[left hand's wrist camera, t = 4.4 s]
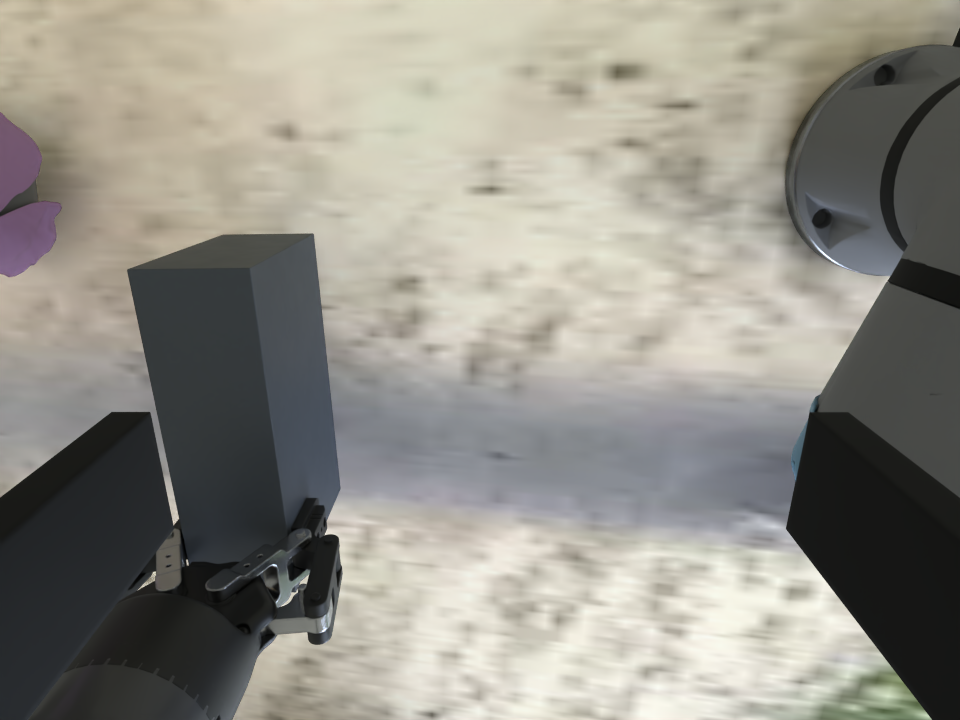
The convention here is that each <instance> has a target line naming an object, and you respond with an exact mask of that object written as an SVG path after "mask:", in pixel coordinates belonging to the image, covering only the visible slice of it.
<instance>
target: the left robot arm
mask: <svg viewBox="0 0 960 720" xmlns="http://www.w3.org/2000/svg"><path fill="white" fill-rule="evenodd" d="M785 187H786V199H787V205H788V209H789V213H790V216H791V218H792V221H793V223H794V225H795V227H796V229H797V231H798V233H799V234H800V236H801V237H802V239H803V240H804V241H805V242H806V244H807V245H808V246H809V247H810V248H811V249H812V250H813V251H814V252H816V253H817V254H818V255H820V256H821V257H823V258H824V259H826V260H828V261H829V262H831V263H834V264H836V265H838V266H841V267H843V268H846V269H849V270H852V271H855V272H858V273H863V274H867V275H876V276H890V278H889V280H888V282H886V284H885V286H884V287H883V289H882V291H881V293H880V294H879V296H878V298H877V299H876V301H875V303H874V304H873V306H872V308H871V310H870V311H869V313H868V315H867V316H866V318H865V320H864V321H863V323H862V325H861V327H860V328H859V330H858V332H857V333H856V335H855V337H854V338H853V340H852V342H851V344H850V345H849V347H848V349H847V350H846V352H845V354H844V355H843V357H842V359H841V361H840V362H839V364H838V366H837V367H836V369H835V371H834V372H833V374H832V376H831V378H830V379H829V381H828V383H827V384H826V386H825V388H824V390H823V391H822V393H821V394H820V395H818V396H817V397H815V399H814V401H813V403H812V404H811V408H810V413H809V418H808V421H807V423H806V425H805V427H804V428H803V430H802V432H801V434H800V436H799V438H798V440H797V442H796V444H795V446H794V449H793V452H792V458H791V465H792V469H793V473H794V475H795V487H794V492H793V497H792V502H791V507H790V512H789V516H788V521H787V526H786V530H787V531H788V532H789V533H790V535H791V536H792V537H793V539H794V540H795V541H796V543H797V544H798V545H799V547H800V548H801V549H802V550H803V552H804V553H805V554H806V556H807V557H808V558H809V560H810V561H811V562H812V563H813V565H814V566H815V567H816V569H817V570H818V571H819V573H820V574H821V575H822V577H823V578H824V579H825V580H826V582H827V583H828V584H829V586H830V587H831V588H832V590H833V591H834V592H835V593H836V595H837V596H838V597H839V599H840V600H841V601H842V603H843V604H844V605H845V607H846V608H847V609H848V610H849V612H850V613H851V614H852V616H853V617H854V618H855V620H856V621H857V622H858V623H859V625H860V626H861V627H862V629H863V630H864V631H865V633H866V634H867V635H868V637H869V638H870V639H871V640H872V642H873V643H874V644H875V646H876V647H877V648H878V650H879V651H880V652H881V654H882V655H883V656H884V657H885V659H886V660H887V661H888V663H889V664H890V665H891V667H892V668H893V669H894V670H895V672H896V673H897V674H898V676H899V677H900V678H901V680H902V681H903V682H904V684H905V685H906V686H907V687H908V689H909V690H910V691H911V693H912V694H913V695H914V697H915V698H916V699H917V700H918V702H919V703H920V704H921V706H922V707H923V708H924V710H925V711H926V712H927V714H928V715H929V716H930V717H931V719H932V720H960V28H959V31H958V34H957V36H956V39H955V41H954V44H953V46H947V45H924V46H916V47H911V48H907V49H902V50H897V51H892V52H889V53H886V54H882V55H879V56H877V57H875V58H872V59H870V60H868V61H866V62H864V63H862V64H860V65H858V66H857V67H855V68H854V69H852V70H850V71H849V72H847V73H846V74H845V75H843V76H842V77H841V78H840V79H838V80H837V81H836V82H835V83H834V84H833V85H831V86H830V87H829V88H828V89H827V90H826V91H825V92H824V94H823V95H822V96H821V97H820V98H819V99H818V100H817V102H816V103H815V104H814V105H813V107H812V108H811V110H810V111H809V113H808V114H807V116H806V117H805V119H804V121H803V122H802V124H801V126H800V128H799V130H798V132H797V134H796V137H795V139H794V142H793V144H792V147H791V150H790V154H789V158H788V163H787V169H786V180H785ZM889 282H890V283H889ZM917 292H918V293H917ZM920 293H921V294H920ZM173 530H174V526H173V521H172V516H171V512H170V507H169V502H168V497H167V492H166V487H165V482H164V477H163V472H162V467H161V463H160V458H159V453H158V448H157V443H156V438H155V433H154V428H153V423H152V418H151V413H150V412H111V413H110V414H109V415H107V416H106V417H105V418H103V419H102V420H101V421H100V422H98V423H97V424H96V425H94V426H93V427H92V428H90V429H89V430H88V431H86V432H85V433H84V434H83V435H81V436H80V437H79V438H77V439H76V440H75V441H73V442H72V443H71V444H70V445H68V446H67V447H66V448H64V449H63V450H62V451H60V452H59V453H58V454H57V455H55V456H54V457H53V458H51V459H50V460H49V461H47V462H46V463H45V464H43V465H42V466H41V467H40V468H38V469H37V470H36V471H34V472H33V473H32V474H30V475H29V476H28V477H27V478H25V479H24V480H23V481H21V482H20V483H19V484H17V485H16V486H15V487H13V488H12V489H11V490H10V491H8V492H7V493H6V494H4V495H3V496H2V497H0V720H28V719H29V717H30V716H31V715H32V714H33V712H34V711H35V710H36V708H37V707H38V706H39V704H40V703H41V702H42V700H43V699H44V698H45V697H46V695H47V694H48V693H49V691H50V690H51V689H52V687H53V686H54V685H55V684H56V682H57V681H58V680H59V678H60V677H61V676H62V674H63V673H64V672H65V670H66V669H67V668H68V667H69V665H70V664H71V663H72V661H73V660H74V659H75V657H76V656H77V655H78V654H79V652H80V651H81V650H82V648H83V647H84V646H85V644H86V643H87V642H88V640H89V639H90V638H91V637H92V635H93V634H94V633H95V631H96V630H97V629H98V627H99V626H100V625H101V623H102V622H103V621H104V620H105V618H106V617H107V616H108V614H109V613H110V612H111V610H112V609H113V608H114V607H115V605H116V604H117V603H118V601H119V600H120V599H121V597H122V596H123V595H124V593H125V592H126V591H127V590H128V588H129V587H130V586H131V584H132V583H133V582H134V580H135V579H136V578H137V577H138V575H139V574H140V573H141V571H142V570H143V569H144V567H145V566H146V565H147V563H148V562H149V561H150V560H151V558H152V557H153V556H154V554H155V553H156V552H157V550H158V549H159V548H160V547H161V545H162V544H163V543H164V541H165V540H166V539H167V537H168V536H169V535H170V533H171V532H172V531H173Z"/></svg>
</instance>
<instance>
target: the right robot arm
mask: <svg viewBox="0 0 960 720" xmlns="http://www.w3.org/2000/svg"><path fill="white" fill-rule="evenodd" d="M326 530H327V522H326V513H325V507H324V505H319V499H318V498H306V500H305V502H304V504H303V506H302V508H301V510H300V512H299V514H298V516H297V518H296V520H295V522H294V524H293V526H292V527H291V532H292V533H290V534H289V535H288V536H286V537H285V538H283V539H282V540H281V541H279V542H278V543H277V544H275V545H274V546H272V545H269V544H264V545H263V546H261V547H260V548H258V549H257V550H256V551H254V552H253V553H251V554H250V555H249V556H247V557H246V558H244V559H243V560H242V561H240V562H228V563H221V564H215V563H210V562H191V564H190V565H189V566H187V562H186V559H188V558H187V553H186V548H185V543H184V539H183V534H182V529H181V524H180V520H178V521H177V522H176V523H175V525H174V530H173V531H172V532H171V533H170V535H169V536H168V537H167V539H166V540H165V541H164V543H163V544H162V545H161V547H160V548H159V549H158V550H157V552H156V553H155V554H154V556H153V557H152V558H151V560H150V561H149V562H148V563H147V565H146V566H145V567H144V569H143V570H142V571H141V573H140V574H139V575H138V577H137V578H136V579H135V580H134V582H133V583H132V584H131V586H130V587H129V588H128V590H127V591H126V592H125V593H124V595H123V596H122V597H121V599H120V600H119V601H118V603H117V604H116V605H115V607H114V608H113V609H112V610H111V612H110V613H109V614H108V616H107V617H106V618H105V620H104V621H103V622H102V623H101V625H100V626H99V627H98V629H97V630H96V631H95V633H94V634H93V635H92V637H91V638H90V639H89V640H88V642H87V643H86V644H85V646H84V647H83V648H82V650H81V651H80V652H79V654H78V655H77V656H76V657H75V659H74V660H73V661H72V663H71V664H70V665H69V667H68V668H67V669H66V670H65V672H64V673H63V674H62V676H61V677H60V678H59V680H58V681H57V682H56V684H55V685H54V686H53V687H52V689H51V690H50V691H49V693H48V694H47V695H46V697H45V698H44V699H43V700H42V702H41V703H40V704H39V706H38V707H37V708H36V710H35V711H34V712H33V714H32V715H31V716H30V717H29V719H28V720H232V719H233V717H234V715H235V713H236V710H237V708H238V706H239V704H240V701H241V699H242V697H243V695H244V692H245V690H246V688H247V686H248V683H249V680H250V677H251V675H252V671H253V668H254V665H255V662H256V659H257V657H258V656H259V654H260V653H261V652H262V651H263V650H264V649H265V648H266V647H267V646H268V645H270V644H271V643H272V642H273V641H274V639H275V638H276V636H277V635H278V634H289V633H302V632H307V633H308V640H309V642H310V643H312V644H315V645H320V644H323V643H325V642H327V641H328V640H329V639H330V638H331V636H332V631H333V626H334V620H335V614H336V608H337V603H338V597H339V591H340V585H341V580H342V566H341V563H340V554H339V538H338V537H337V536H336V535H325V532H326ZM324 535H325V536H324ZM291 557H292V560H293V562H292V563H291V564H290V565H289V566H287V563H288V561H289V559H290V558H291ZM154 571H156V576H155V581H154V582H152V583H150V584H149V585H147V586H145V587H143V588H141V589H139V588H140V587H141V586H142V585H143V584H144V583H145V582H146V580H147V579H148V578H149V577H150V576H151V575H152V573H153V572H154ZM262 572H263V576H264V581H263V579H262V578H261V576H260V574H261V573H262ZM308 575H309V578H308V582H307V584H301V585H299V586H298V593H297V594H295V595H294V597H293V599H292V600H291V602H290V603H288V604H287V605H285V606H282V607H280V606H281V605H283V604H284V603H285V602H286V601H287V600H288V599H289V597H290V595H291V591H292V589H293V587H294V586H296V585H297V584H298V583H299V582H300V581H302V580H303V579H304V578H305V577H306V576H308ZM264 582H265V583H264ZM138 589H139V590H138ZM137 590H138V591H137Z"/></svg>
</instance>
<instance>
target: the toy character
mask: <svg viewBox="0 0 960 720" xmlns="http://www.w3.org/2000/svg"><path fill="white" fill-rule="evenodd" d="M41 162H42V156H41V153H40V151H39V148H38V146H37V145H36V143H35V142H34V141H33V140H32V139H31V138H30V137H29V136H28V135H27V134H26V133H25V132H24V131H22V130H21V129H20V128H18V127H17V126H15V125H14V124H13V123H11V122H10V121H9V120H8V119H7V118H6V117H5V116H4V115H3V114H2V113H1V112H0V274H4V275H6V276H8V277H13V276H16V275H18V274H20V273H22V272H24V271H25V270H26V269H27V268H28V267H29V266H30V265H35V264H36V262H37V261H38V260H39V258H40V257H41V256H43V255H44V254H46V253H47V252H49V251H50V249H51V248H52V246H53V244H54V242H55V241H56V227H55V223H54V219H55V216H56V215H57V214H58V213H59V212H60V211H61V208H62V206H61V204H60V203H57V202H48V201H41V202H38V196H37V188H36V178H37V176H38V174H39V171H40V165H41Z"/></svg>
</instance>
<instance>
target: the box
mask: <svg viewBox="0 0 960 720" xmlns="http://www.w3.org/2000/svg"><path fill="white" fill-rule="evenodd" d="M127 272H128V276H129V281H130V286H131V291H132V295H133V300H134V305H135V310H136V315H137V319H138V324H139V329H140V334H141V338H142V343H143V348H144V353H145V357H146V362H147V367H148V372H149V376H150V381H151V386H152V391H153V396H154V400H155V405H156V410H157V415H158V419H159V424H160V429H161V434H162V438H163V443H164V448H165V453H166V458H167V462H168V467H169V472H170V477H171V481H172V486H173V491H174V496H175V500H176V505H177V510H178V515H179V520H180V524H181V529H182V534H183V539H184V543H185V548H186V553H187V558H188V562H189V565H190V564H191V562H210V563H215V564H221V563H228V562H240V561H242V560H243V559H244V558H246V557H247V556H249V555H250V554H251V553H253V552H254V551H256V550H257V549H258V548H260V547H261V546H263V545H264V544H269V545H272V546H274V545H275V544H277V543H278V542H279V541H281V540H282V539H283V538H285V537H286V536H288V535H289V534H290V533H292V532H291V527H292V526H293V524H294V522H295V520H296V518H297V516H298V514H299V512H300V510H301V508H302V506H303V504H304V502H305V500H306V498H318V499H319V505H324V507H325V513H326V521H327V519H328V517H329V514H330V512H331V510H332V507H333V505H334V503H335V500H336V498H337V496H338V493H339V491H340V480H339V470H338V461H337V451H336V441H335V432H334V422H333V413H332V403H331V394H330V384H329V375H328V365H327V356H326V346H325V337H324V327H323V318H322V308H321V299H320V289H319V280H318V270H317V261H316V251H315V242H314V234H244V235H221V236H218V237H216V238H213V239H210V240H207V241H205V242H202V243H199V244H196V245H194V246H191V247H188V248H185V249H183V250H180V251H177V252H174V253H172V254H169V255H166V256H163V257H160V258H158V259H155V260H152V261H149V262H147V263H144V264H141V265H138V266H136V267H133V268H130V269H128V270H127ZM292 562H293V560H292V557H291V558H290V559H289V561H288V563H287V566H289V565H290V564H291V563H292ZM260 576H261V578H262V579H263V581H264V576H263V572H262V573H261V574H260ZM264 583H265V582H264ZM299 584H300V582H299V583H298V584H297V585H296V586H294V587H293V589H292V591H291V592H296V591H297V588H298V586H299Z"/></svg>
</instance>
